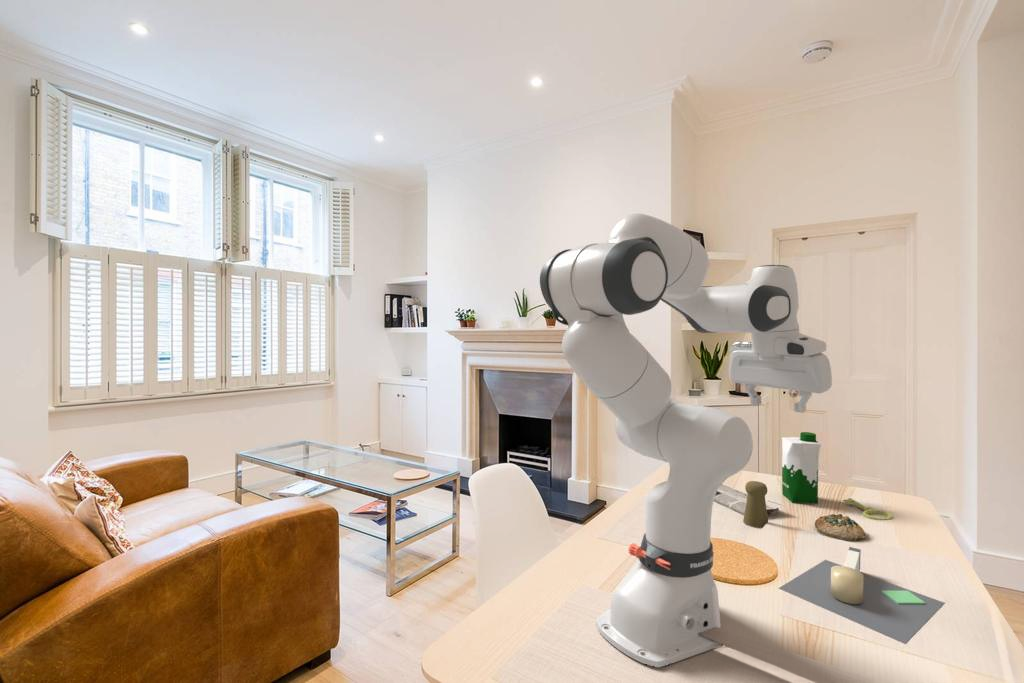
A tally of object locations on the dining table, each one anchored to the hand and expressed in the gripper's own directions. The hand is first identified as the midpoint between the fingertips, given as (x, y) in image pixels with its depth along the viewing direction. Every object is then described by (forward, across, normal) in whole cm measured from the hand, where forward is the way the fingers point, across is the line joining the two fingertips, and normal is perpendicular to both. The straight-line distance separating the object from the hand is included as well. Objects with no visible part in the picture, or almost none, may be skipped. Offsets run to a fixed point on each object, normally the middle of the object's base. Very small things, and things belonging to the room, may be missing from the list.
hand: (777, 407), depth 103 cm
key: (+42, -4, +50) cm, 65 cm away
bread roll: (+39, -2, +29) cm, 49 cm away
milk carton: (+41, -20, +44) cm, 63 cm away
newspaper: (+40, -34, +27) cm, 59 cm away
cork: (+38, -16, +16) cm, 44 cm away
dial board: (+35, +16, -2) cm, 38 cm away
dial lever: (+33, +13, 0) cm, 36 cm away
